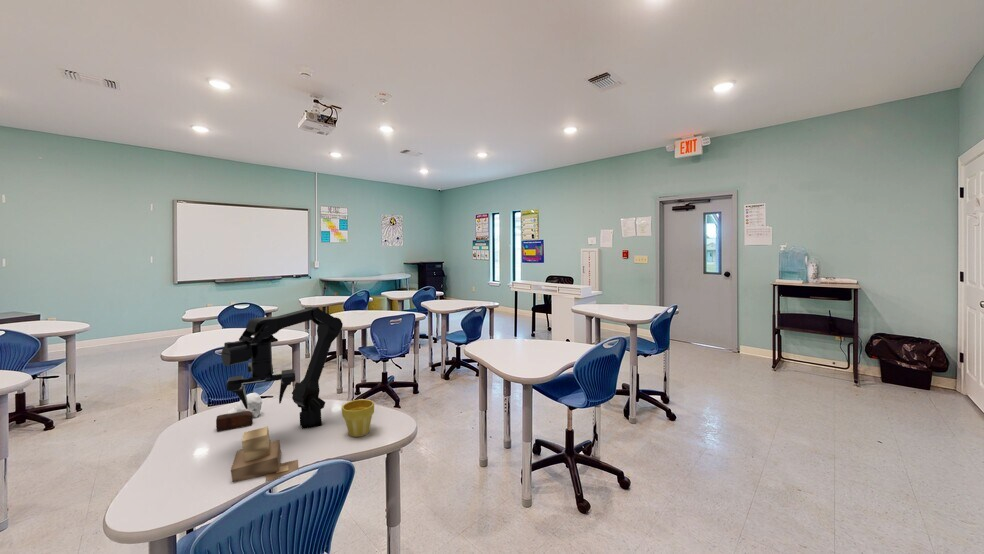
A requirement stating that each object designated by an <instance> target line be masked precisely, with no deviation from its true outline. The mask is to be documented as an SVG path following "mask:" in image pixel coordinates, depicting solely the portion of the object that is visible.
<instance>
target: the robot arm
mask: <svg viewBox="0 0 984 554" xmlns="http://www.w3.org/2000/svg"><path fill="white" fill-rule="evenodd" d="M309 321H311V322H312V323H313V324H315V325H317V328H316V335H317V341H316V343H315V346H314V349H313V351H312V356H311V358H310V360H309V363H308V367H307V370H306V372H305V375H304V378H303V379H302V380H301V381H300V382H298V381H297V382H296V371H295V369H294V368H293V369H292V368H291V369H290V368H289V369H283V370H281V373H277V374H274V366H273V357H272V355H273V354H272V344H273V343H276V342H277V343H278V341H279V339H278V338H276V337H275V336H274V335H275V334H277V333H278V332H279V331H281V330H282V329H286V328H288V327H291V326H295V325H298V324H299V325H300V324H302V323H306V322H309ZM343 324H344V323H343V321H342V320H341V318H339V317H337V316H336V317H334V316H333V315H331V314H329V313H327V312H325V311H323V310H322V309H320V308H319V307H314V306H309V307H307V308H304V309H300V310H295V311H292V312H288V313H285V314H284V313H283V314H281V315H277V316H262V317H254V318H251V319H250V320H248V323H246V328H245V329H244V330H243V332H242V334H241V336H240V337H239V338H238V340H236V341H227V342H224V345H223V346H224V347H222V350H221V353H220V356H221V357H220V358H221V360H222V363H223V365H224V366H226V367H228V366H232V365H237V364H241V363H246V362H247V372H248V373H251V377H246V378H244V375H237V376H229V377H228V379H227V381H226V386H225V387H226V391H227V392H230V391H231V393H232V394H236V395H237V397H239V400H241V401H242V402H243V404H244V406H245V408H246V409H248V402H247V397H246V395H247V392H246V385H251V384H261V383H268V382H275V381H280V386H279V394H278V395H279V396H278V402H279V404H281V403H282V400H283V397H284V394H285V392H286V390H287V388H288V386H290V385H292V383H294V382H295V384H294V388H293V391H292V392H291V395H292V397H291V400H292V401H293V402H294V404H296V405H297V408H300V409H301V410H300V412H299V426H300V427H301V429H302V430H306V429H307V430H308V429H313V428H316V427H322V426H323V423H322V409H325V407H326V406H325V404H326V401H324V400H323V399H321V398H320V397H319V396H320V383H319V381H320V378H321V375H322V372H323V369H324V366H325V363H326V361H327V358H328V354H329V352H330V349H331V347H332V343H333V342H334V341H335V339H337V337H338V336H339V335H340V332H341V331H342V329H343ZM249 360H250V362H249Z"/></svg>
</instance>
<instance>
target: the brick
mask: <svg viewBox="0 0 984 554" xmlns="http://www.w3.org/2000/svg"><path fill="white" fill-rule="evenodd" d="M215 423H216V424H215V425H216V426H215V427H216V432H223V431H230V430H234V429H240V428H245V427H251V426H252V424H253V415H252V412H250V411H243V412H237V413H231V414H226V413H224V414H219V415H217V416H216V418H215Z"/></svg>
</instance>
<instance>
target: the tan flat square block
mask: <svg viewBox="0 0 984 554" xmlns="http://www.w3.org/2000/svg"><path fill="white" fill-rule="evenodd" d="M270 443H271V450H270V455H268V456H264V457H261V458H257V459H254V460H251V461H247V462H245V457H244V451H243V449H239V450H236V454H235V455H234V456H235V457H234V460H233V462H232V465H231V467H230V468H231V469H230V474H231V479H232V483H236V482H241V481H246V480H251V479H255V478H258V477H263V476H266V474H269V473H273V472H276V471H279V468H280V463H281V458H282V448H281V441H280V439H277V440H274V441H270Z"/></svg>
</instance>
